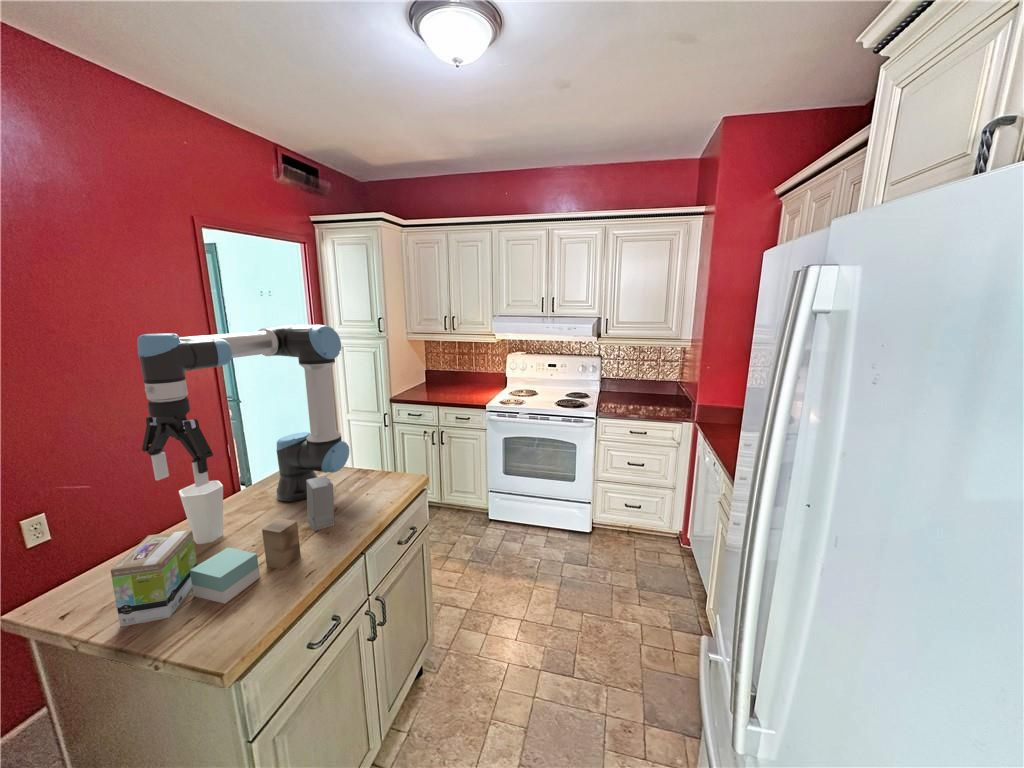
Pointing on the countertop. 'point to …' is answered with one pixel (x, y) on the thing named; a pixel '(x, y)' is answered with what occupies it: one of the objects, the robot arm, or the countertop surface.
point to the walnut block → (281, 543)
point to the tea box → (154, 577)
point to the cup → (204, 510)
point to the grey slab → (229, 592)
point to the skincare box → (320, 502)
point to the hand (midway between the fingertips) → (182, 481)
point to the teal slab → (224, 569)
